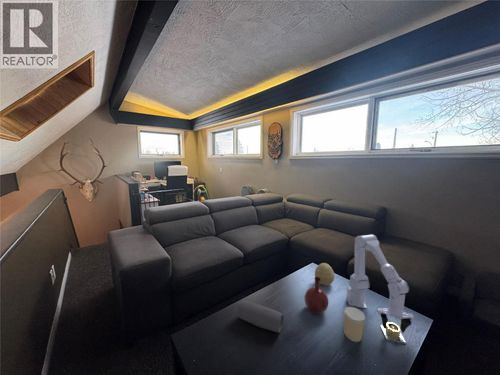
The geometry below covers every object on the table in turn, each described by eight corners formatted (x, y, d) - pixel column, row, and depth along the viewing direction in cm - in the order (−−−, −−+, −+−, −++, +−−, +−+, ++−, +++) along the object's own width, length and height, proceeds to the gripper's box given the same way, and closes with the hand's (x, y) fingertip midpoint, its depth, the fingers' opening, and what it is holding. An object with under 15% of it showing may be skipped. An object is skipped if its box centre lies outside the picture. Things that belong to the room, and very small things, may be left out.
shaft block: (386, 340, 95) (387, 332, 95) (380, 326, 103) (381, 319, 102) (405, 344, 93) (406, 335, 93) (397, 330, 101) (398, 322, 100)
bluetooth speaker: (283, 325, 104) (283, 308, 102) (278, 340, 95) (278, 321, 94) (244, 311, 113) (244, 295, 112) (237, 323, 105) (236, 306, 103)
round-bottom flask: (302, 315, 110) (304, 282, 107) (305, 299, 123) (306, 270, 120) (327, 322, 106) (329, 288, 103) (327, 305, 118) (330, 274, 115)
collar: (388, 336, 96) (389, 330, 96) (384, 327, 101) (384, 321, 101) (401, 339, 95) (402, 332, 94) (396, 329, 100) (397, 323, 99)
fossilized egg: (331, 292, 129) (333, 271, 127) (312, 285, 136) (313, 265, 134) (335, 282, 140) (336, 262, 138) (317, 276, 147) (318, 257, 144)
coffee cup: (361, 329, 101) (363, 308, 99) (365, 346, 92) (367, 323, 91) (341, 324, 104) (343, 304, 102) (343, 340, 95) (345, 318, 94)
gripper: (382, 307, 94) (379, 332, 96) (418, 313, 90) (414, 339, 92) (377, 297, 100) (374, 320, 102) (410, 302, 97) (407, 327, 99)
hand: (393, 329), depth 98 cm, fingers open, 7 cm apart
